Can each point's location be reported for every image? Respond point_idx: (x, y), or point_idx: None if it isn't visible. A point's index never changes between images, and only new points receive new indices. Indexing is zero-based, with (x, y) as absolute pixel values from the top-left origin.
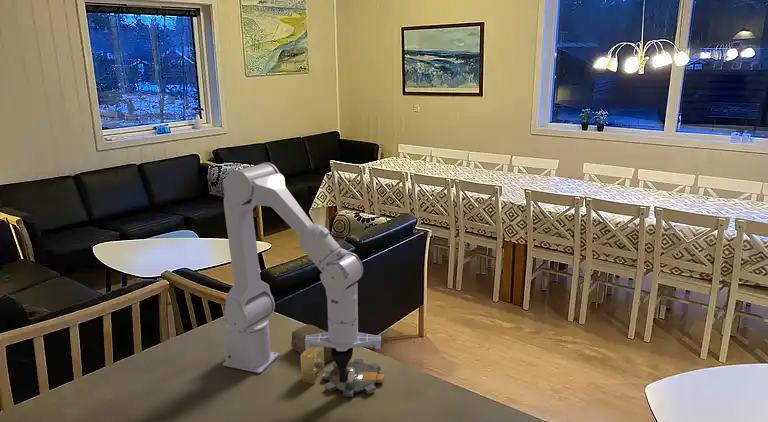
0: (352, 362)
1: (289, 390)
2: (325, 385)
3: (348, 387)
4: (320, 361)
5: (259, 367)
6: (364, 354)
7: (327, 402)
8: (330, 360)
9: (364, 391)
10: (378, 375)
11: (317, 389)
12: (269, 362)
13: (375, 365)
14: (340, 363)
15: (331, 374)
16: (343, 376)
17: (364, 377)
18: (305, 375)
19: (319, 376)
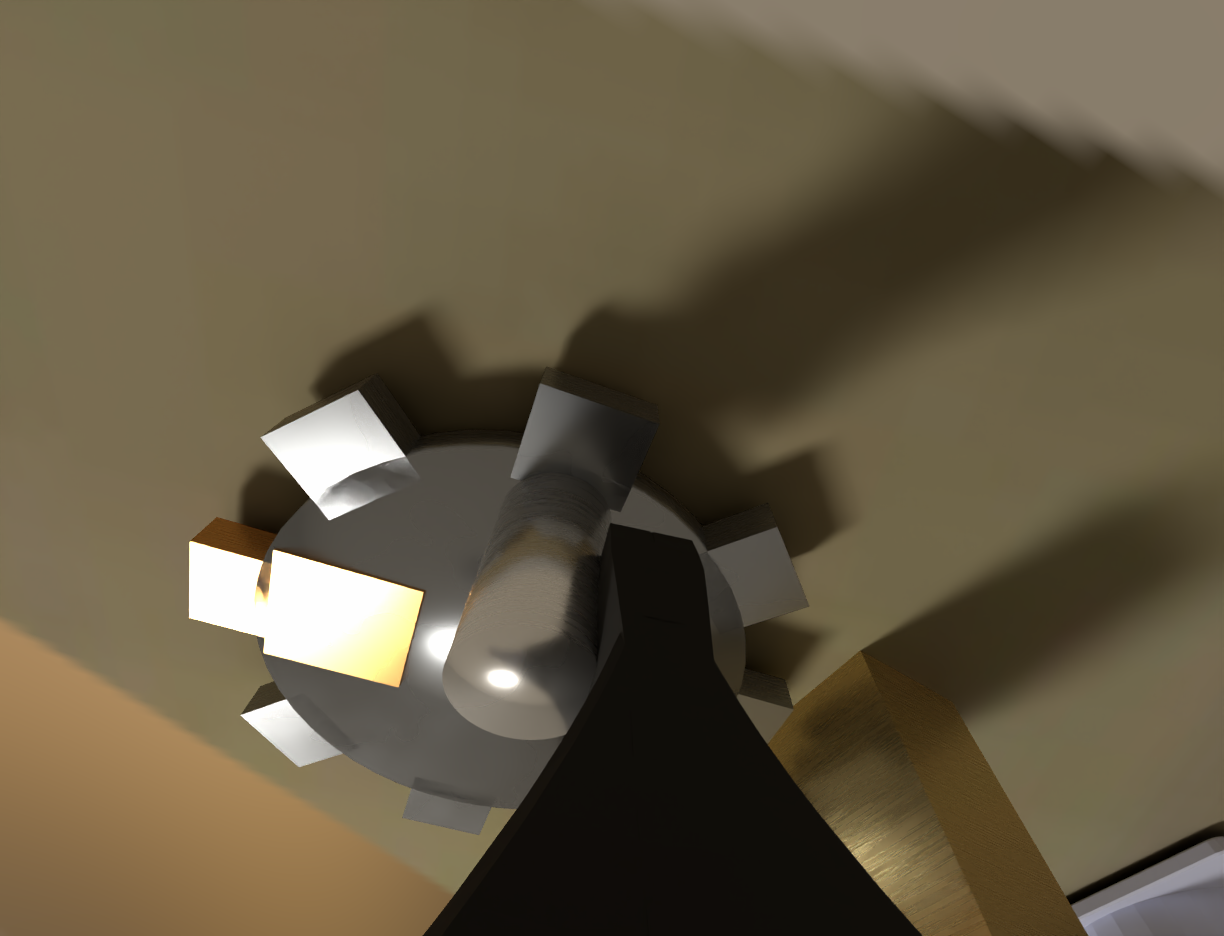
0: (496, 804)
1: (1111, 619)
2: (803, 593)
3: (580, 488)
4: None
5: (1207, 882)
6: (406, 853)
7: (840, 361)
8: None
9: (410, 426)
10: (248, 611)
11: (866, 579)
12: (1107, 907)
13: (290, 738)
14: (741, 840)
15: None
16: (644, 577)
17: (392, 611)
18: (956, 744)
19: (803, 718)
